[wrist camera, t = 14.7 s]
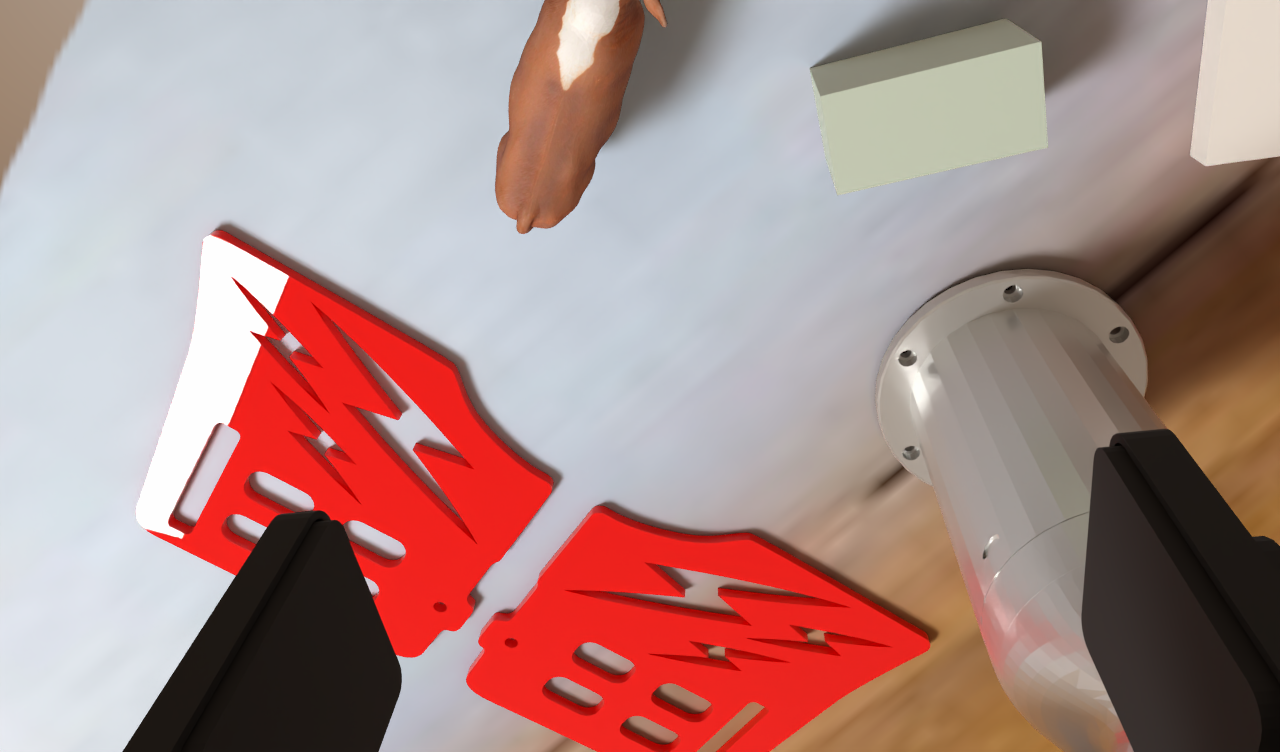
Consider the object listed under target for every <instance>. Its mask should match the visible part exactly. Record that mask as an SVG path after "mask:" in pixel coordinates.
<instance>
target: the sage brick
mask: <svg viewBox="0 0 1280 752" xmlns="http://www.w3.org/2000/svg"><path fill="white" fill-rule="evenodd" d="M810 73H811V79H812V85H813V90H814V96H815V102H816V107H817V113H818V119H819V124H820V130H821V136H822V141H823V147H824V153H825V158H826V161H827V164H828V167H829V171H830V174H831V177H832V180H833V183H834V186H835V189H836V192H837V195H841V194H846V193H850V192H854V191H859V190H863V189H868V188H872V187H876V186H881V185H885V184H890V183H894V182H898V181H903V180H907V179H912V178H916V177H920V176H925V175H929V174H934V173H938V172H942V171H947V170H951V169H956V168H960V167H964V166H969V165H973V164H978V163H982V162H986V161H991V160H995V159H1000V158H1004V157H1008V156H1013V155H1017V154H1021V153H1026V152H1030V151H1035V150H1039V149H1043V148H1048V141H1047V124H1046V108H1045V92H1044V75H1043V59H1042V43H1041V41H1040V40H1038V39H1037V38H1035V37H1034V36H1032V35H1031V34H1029V33H1028V32H1026V31H1025V30H1023V29H1022V28H1020V27H1019V26H1017V25H1015V24H1014V23H1012V22H1011V21H1009V20H1008V19H1006V18H1005V19H1001V20H997V21H993V22H989V23H985V24H981V25H977V26H973V27H970V28H966V29H962V30H958V31H954V32H950V33H946V34H942V35H938V36H934V37H930V38H926V39H922V40H918V41H915V42H911V43H907V44H903V45H899V46H895V47H891V48H887V49H883V50H879V51H875V52H871V53H867V54H863V55H860V56H856V57H852V58H848V59H844V60H840V61H836V62H832V63H828V64H824V65H820V66H816V67H812V68H810Z"/></svg>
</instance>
